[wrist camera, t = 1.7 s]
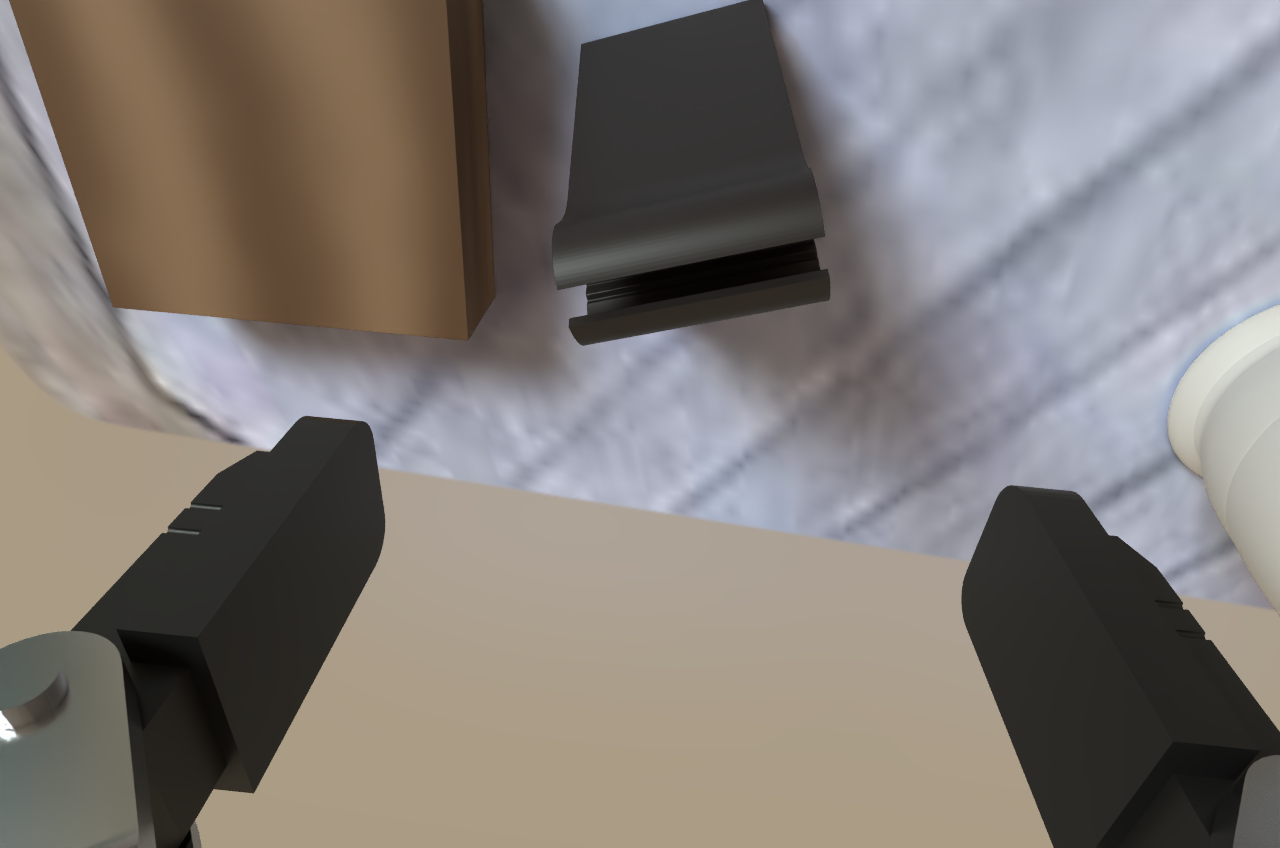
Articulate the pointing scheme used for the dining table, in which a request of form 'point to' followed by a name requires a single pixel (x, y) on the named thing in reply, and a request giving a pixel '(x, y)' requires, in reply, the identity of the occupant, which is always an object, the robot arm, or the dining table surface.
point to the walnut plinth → (277, 155)
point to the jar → (1237, 439)
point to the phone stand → (686, 181)
